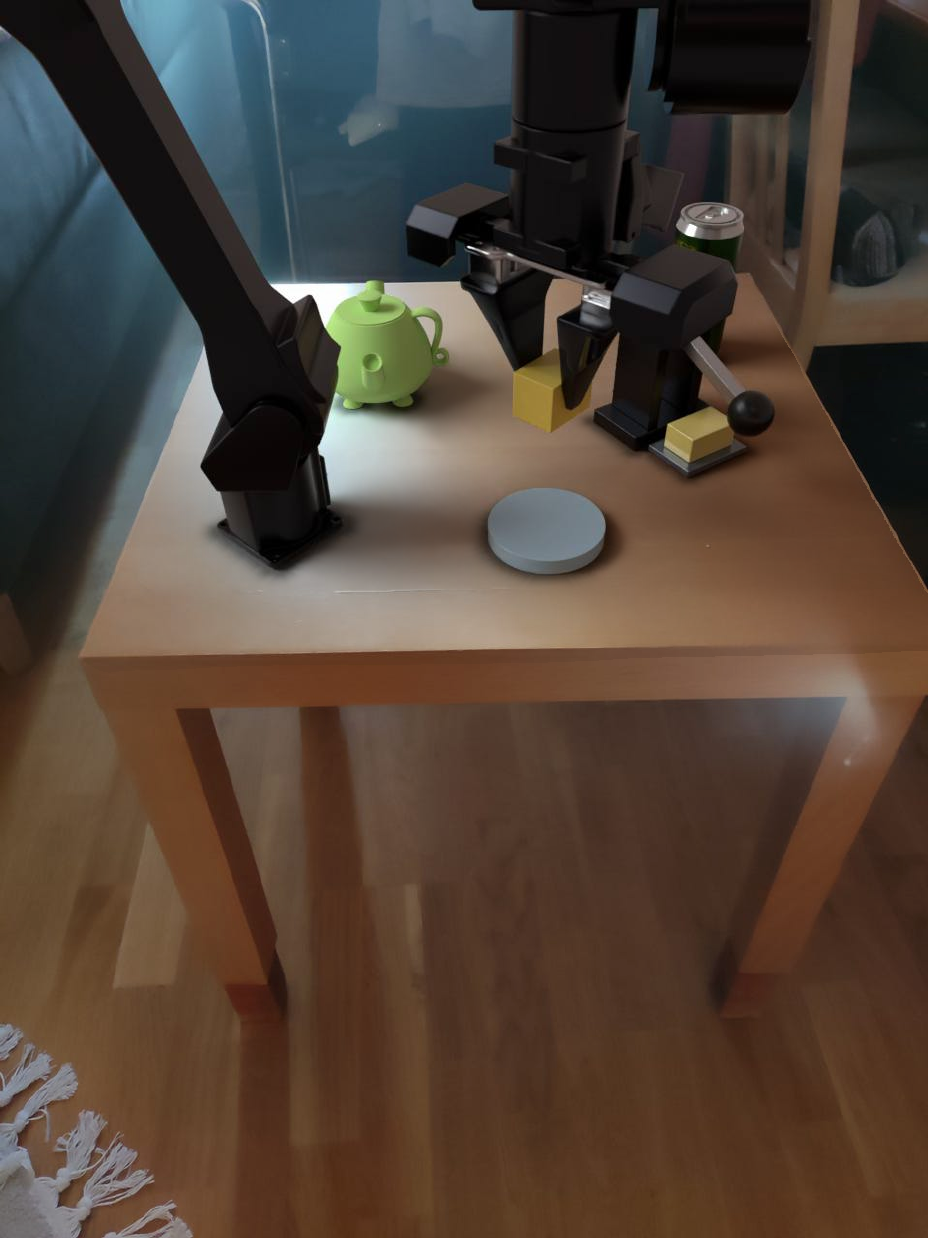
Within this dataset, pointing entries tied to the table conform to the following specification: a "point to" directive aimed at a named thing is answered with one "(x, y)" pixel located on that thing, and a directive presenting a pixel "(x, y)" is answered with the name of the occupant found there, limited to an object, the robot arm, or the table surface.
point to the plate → (546, 530)
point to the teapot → (383, 348)
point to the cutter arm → (733, 393)
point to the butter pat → (543, 394)
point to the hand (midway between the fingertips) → (552, 397)
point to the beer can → (712, 241)
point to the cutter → (650, 392)
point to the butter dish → (698, 464)
